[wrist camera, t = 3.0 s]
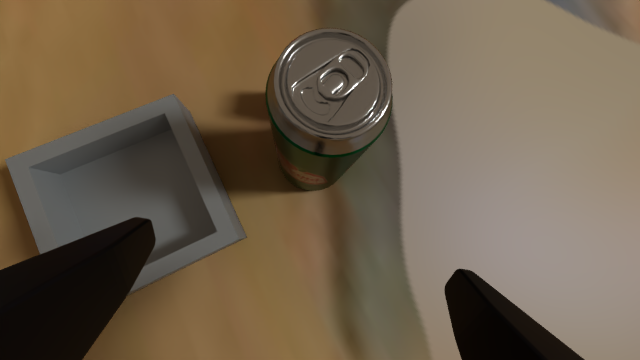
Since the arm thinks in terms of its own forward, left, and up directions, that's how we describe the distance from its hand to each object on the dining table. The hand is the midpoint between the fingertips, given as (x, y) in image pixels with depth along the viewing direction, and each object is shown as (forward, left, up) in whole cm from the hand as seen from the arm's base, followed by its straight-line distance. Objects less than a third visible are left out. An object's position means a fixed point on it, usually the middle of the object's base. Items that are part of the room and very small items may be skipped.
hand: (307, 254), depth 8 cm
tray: (+7, +9, -13) cm, 17 cm away
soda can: (+5, -3, -13) cm, 14 cm away
